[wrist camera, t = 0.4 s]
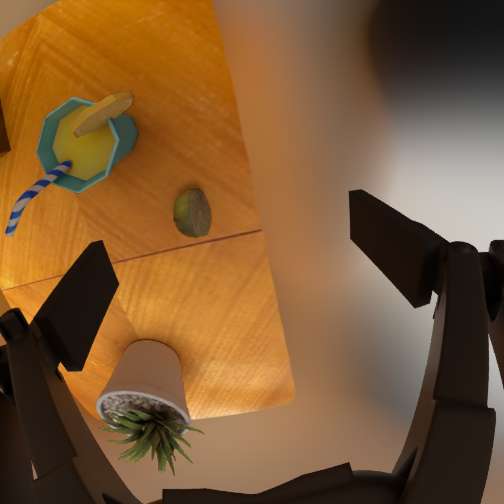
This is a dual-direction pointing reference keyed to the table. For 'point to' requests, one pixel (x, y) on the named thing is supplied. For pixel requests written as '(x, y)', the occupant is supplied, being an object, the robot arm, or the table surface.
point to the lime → (192, 214)
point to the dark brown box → (3, 136)
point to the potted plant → (147, 402)
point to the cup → (81, 146)
